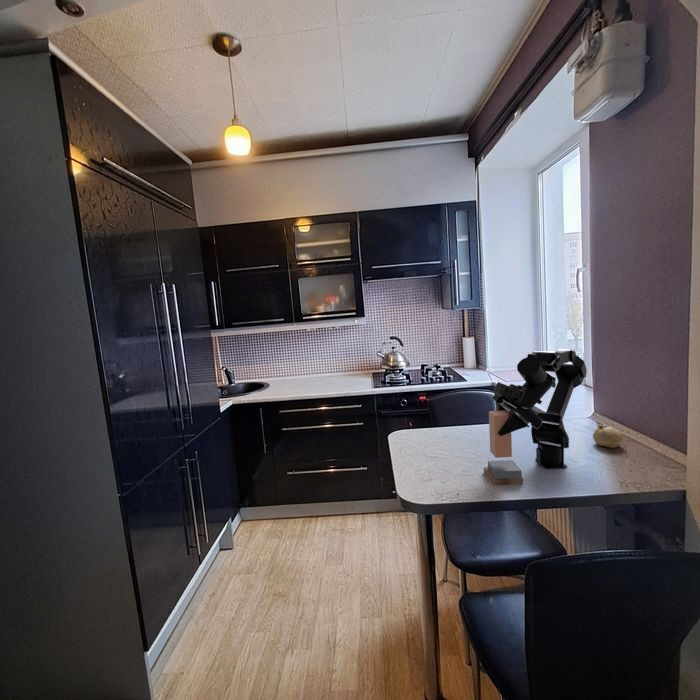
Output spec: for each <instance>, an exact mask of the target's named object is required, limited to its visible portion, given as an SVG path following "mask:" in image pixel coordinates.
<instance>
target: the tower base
mask: <svg viewBox="0 0 700 700" xmlns="http://www.w3.org/2000/svg"><path fill="white" fill-rule="evenodd" d="M483 473H484V475H485V474H486V475H485V476H486V477H487V479H488V478H489V479H488V480H489V481H490V483H491V482H492V483H491V485H493V486H507V485H508V486H509V485H523V484H524V478H523V477H522V478H514V479H495V478H494V476H493V475H492V473H491V472H490V470H489V469H488V466H485V467H483Z"/></svg>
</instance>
